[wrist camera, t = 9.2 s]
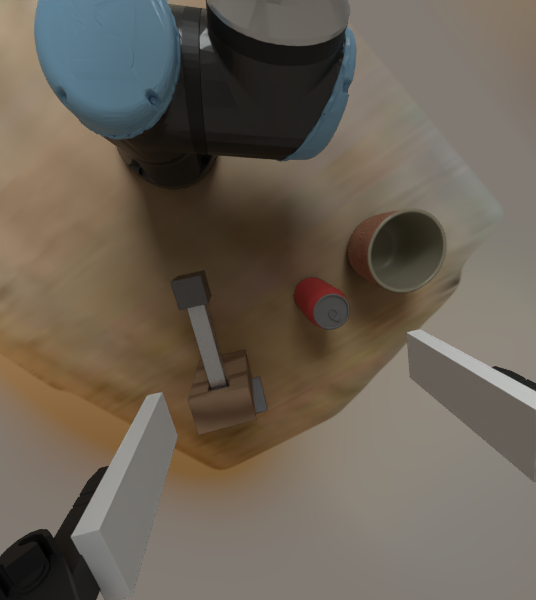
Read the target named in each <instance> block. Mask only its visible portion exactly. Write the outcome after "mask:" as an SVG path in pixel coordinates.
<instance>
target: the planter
mask: <svg viewBox="0 0 536 600" xmlns="http://www.w3.org/2000/svg"><path fill="white" fill-rule="evenodd" d="M347 254H348V259H349V262H350V264H351V266H352V268H353V269H354V271H355V272H356V273H357V274H359V275H360V276H361V277H363V278H364V279H366V280H367V281H369V282H371V283H373V284H376V285H378V286H380V287H382V288H384V289H386V290H389V291H391V292H396V293H407V292H412V291H415V290H417V289H419V288H421V287H423V286H424V285H426V284H427V283H428V282H430V281H431V280H432V279H433V278H434V276H435V275H436V274H437V273H438V271H439V269H440V268H441V266H442V264H443V261H444V258H445V254H446V236H445V232H444V230H443V227H442V226H441V224H440V222H439V221H438V220H437V219H436V218H435V217H434V216H433V215H432V214H430V213H428V212H426V211H424V210H420V209H404V210H398V211H393V212H388V213H383V214H379V215H376V216H373V217H371V218H368V219H367V220H365V221H363V222H362V223H361V224H360V225H358V226H357V228H356V229H355V230H354V231H353V233H352V235H351V237H350V239H349V242H348V248H347Z"/></svg>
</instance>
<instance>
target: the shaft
mask: <svg viewBox="0 0 536 600" xmlns="http://www.w3.org/2000/svg"><path fill="white" fill-rule="evenodd" d="M171 285H172V289H173V292H174V295H175V298H176V302H177V305H178V308H179V310H183V309H188V313H189V316H190V319H191V323H192V326H193V330H194V333H195V336H196V340H197V343H198V346H199V350H200V353H201V357H202V360H203V363H204V367H205V370H206V373H207V377H208V380H209V383H210V387H211V390H216V389H220V388H224V387H228V386H229V383H228V379H227V375H226V372H225V368H224V364H223V361H222V357H221V354H220V350H219V346H218V343H217V339H216V335H215V332H214V328H213V325H212V321H211V317H210V314H209V310H208V306H207V304H208V303H209V300H210V298H211V292H210V289H209V285H208V281H207V277H206V274H205V270H203V271H199V272H194V273H190V274H185V275H180V276H178V277H176V278H175V279H174V280H172V281H171Z"/></svg>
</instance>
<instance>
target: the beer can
mask: <svg viewBox="0 0 536 600" xmlns="http://www.w3.org/2000/svg"><path fill="white" fill-rule="evenodd" d="M294 298H295V302H296V304H297V305H298V307H299V308H300V309H301V310H302V312H303V313H304V314H305V315H306V316H307V318H308V319H309V320H310V321H311V322H312V323H313V324H314V325H316V326H318V327H321V328H324V329H329V330H332V329H336V328H339V327H340V326H342V325H343V324H344V323H345V322H346V321H347V319H348V317H349V312H350V308H349V304H348V302H347V300H346V298H345V296H344V294H343V293H342V292H341V291H339V290H338V289H336V288H335V287H333V286H331V285H329V284H328V283H326V282H324V281H323V280H321V279H318V278H313V277H310V278H306V279H304V280H303V281H301V282H300V283H299V284H298V285H297V287H296V289H295V294H294Z"/></svg>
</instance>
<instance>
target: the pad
mask: <svg viewBox="0 0 536 600" xmlns="http://www.w3.org/2000/svg"><path fill="white" fill-rule="evenodd" d="M252 383H253V392H254V402H255V411H256V413H258V412H262V411H266V410H267V406H266V401H265V397H264V393H263V389H262V385H261V381H260V377H256V378H252Z"/></svg>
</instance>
